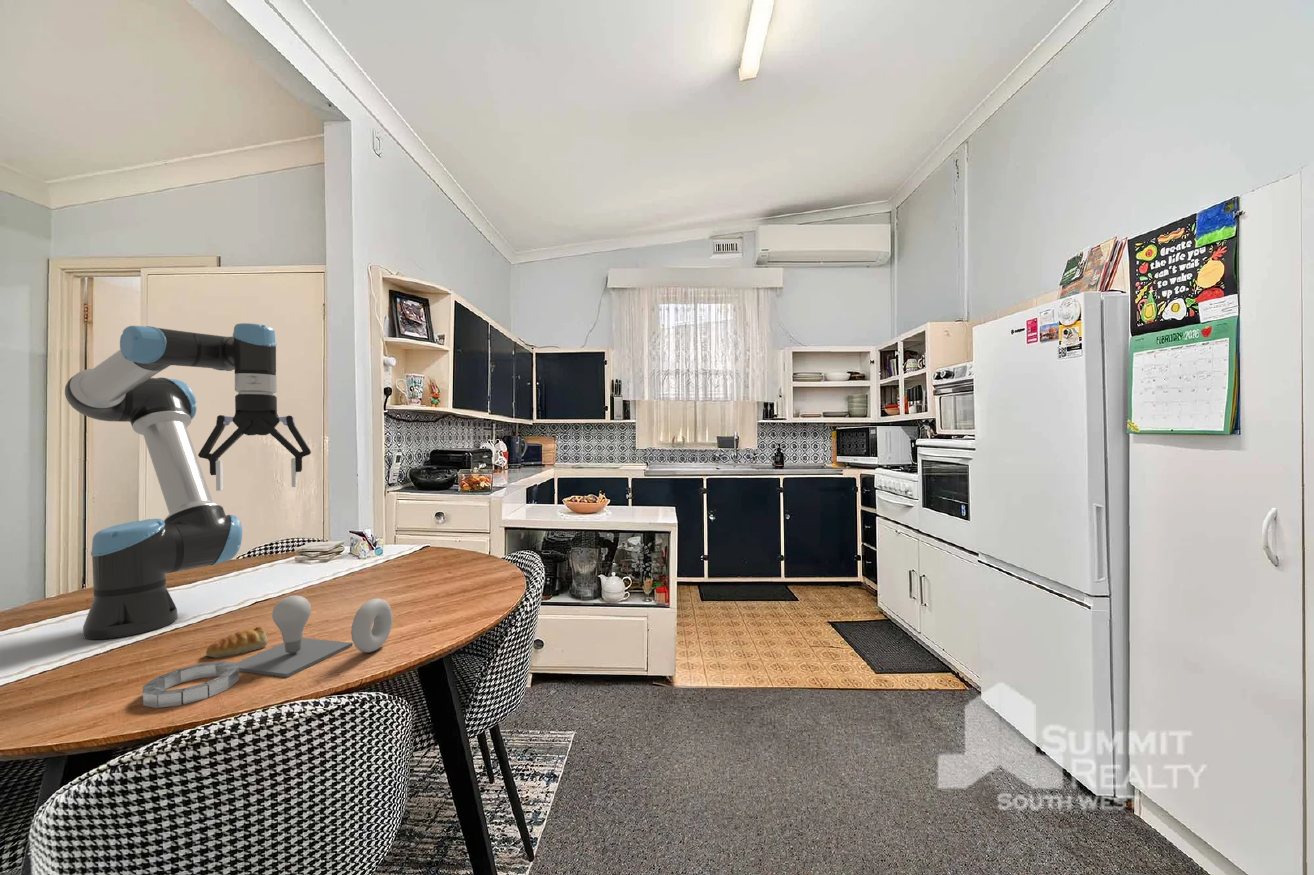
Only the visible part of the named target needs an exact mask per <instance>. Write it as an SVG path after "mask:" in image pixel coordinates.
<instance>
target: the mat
mask: <svg viewBox="0 0 1314 875" xmlns="http://www.w3.org/2000/svg"><path fill="white" fill-rule="evenodd" d="M352 645H353V646H354V643H353V642H347V641H339V640H337V641H336V640H331V639H330V640H329V639H319V638H308V637H302V639H301V649H300V650H299V651H297V653H295V654H290V653H287V652H285V643H284V642H283V643H280V644H277V645H275V646H273V647H270V648H268V649H266V650H263V651H261V652H258V653H256V654H253V655H251V656H248V657H246V658H244V659H242V660H239V661H237V662H235V663H236V664H237V666H238V668H239V672H241V673H242V672H243V673H249V672H250V673H251V674H258V675H266V676H267V675H268V676H274V675H275V677H281V678H289V677H291V676H293V675H295V674H297V673H299V672H302V671H303V669H304V670H306V669H307V667H308V668H310V667H312V666H314V665H316V664H318V663H320V662H323V661H324V660H326V659H329V658H330V657H332V656H335V655H336V653H337V654H339V653H341V652H343V651H345V650H346V649H349V648H351V647H353V646H352ZM350 646H351V647H350ZM344 649H345V650H344ZM342 650H343V651H342ZM334 654H335V655H334ZM309 666H310V667H309ZM305 668H306V669H305ZM301 670H302V671H301Z"/></svg>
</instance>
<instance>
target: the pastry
mask: <svg viewBox="0 0 1314 875" xmlns="http://www.w3.org/2000/svg"><path fill="white" fill-rule="evenodd" d="M267 644H268V637H267V635H266V632H265V629H264V627H263V626H256V627H255V628H251V629H244V630H239V631H236V632H235V633H234V634H230V635H228V636H226V637H224V638H221V639H219V640H218V641H216V642H213V643H212V644H210V645H209V646H208V647H207V648H206V652H205V655H206V656H207V657H211V658H213V659H214V658H216V659H218V658H222V657H223V658H224V657H231V656H237V654H238V655H240V654H239V653H241V654H245V653H249V652H248V651H250V652H253V651H252V650H254V651H256V650H255V649H258V650H260V649H264V648H266V647H267ZM265 646H266V647H265Z"/></svg>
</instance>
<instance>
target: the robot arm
mask: <svg viewBox="0 0 1314 875" xmlns="http://www.w3.org/2000/svg"><path fill="white" fill-rule="evenodd" d="M119 338H120V339H119V350H117V351H116V352H114V353H113V354H112V355H111V356H108V357H107V358H106V359H105V360H103V361H102V362H100V363H98V364H97V365H96V366H95V367H94V368H88V369H87V368H86V369H83V370H81V371H79V372H77V373H76V374H74V375H73V376H72V377H71V378H69V379H68V381H67V382H66V385H65V387H64V395H65V398H66V401H67V402H68V404H69V406H71V407H72V408H73V409H74V410H75V411H77V412H78V413H80V414H82V415H83V416H86V417H88V418H89V419H90V418H91V419H93V420H98V421H104V422H126V423H127V422H129V423H130V424H131V427H132V430H133V431H134V432H135V433H136V434H139V435H142V436H143V439H144V442H145V444H146V446H147V451H148V454H149V456H150V459H151V463H152V465H153V469H154V471H155V475H156V477H157V481H158V483H159V486H160V489H161V490H160V491H161V492H162V496H163V499H164V503H165V505H166V507H167V508H166V509H167V510H168V515H167V516H166V517H165V518H164V519H162V518H149V519H148V518H147V519H142V520H135V521H129V522H125V523H120V524H116V525H112V526H109V527H105V528H102V529H100V530H99V531H97V532H96V533H94V535H93V537H92V543H91V552H90V556H91V559H92V579H93V580H92V584H93V599H92V603H91V604H90V609H89V611H88V614H87V616H86V619H85V621H84V623H83V625H82V626H83V628H82V631H83V632H82V633H83V634H82V636H84V637H85V638H84V637H83V638H84V639H86V638H87V639H86V640H107V638H109V639H116V637H117V638H122V636H124V637H129V636H134V635H139V634H143V633H147V632H149V631H150V632H151V631H155V630H156V629H160V628H164V627H165V626H168V625H170V623H171V624H173V623H174V622H176V621H177V620H178V608H177V607H176V604H175V603H174V600H173V598H172V597H171V594H170V592H169V590H168V589H167V579H166V578H167V575H168V574H171V573H176V572H182V571H187V570H192V569H197V568H202V567H208V566H211V567H212V566H215V565H217V564H220V563H221V564H222V563H225V562H228V561H230V560H232V559H234V558H235V557H236V555H237V554H238V553H239V551H240V548H241V545H242V542H243V528H242V527H243V526H242V523H241V521H240V519H239V517H237V516H236V515H234V514H226V513H225V510H224V507H223V506H222V505H221V504H218V503H215V502H214V501H213V499H212V496H211V493H210V490H209V488H208V485H207V481H206V478H205V476H204V473H203V470H202V467H201V465H200V461H199V459H198V457H199V458H200V459H201V458H202V459H206V460H208V461H209V462H208V463H209V474H210V475H211V476H215V488H216V492H218V491H222V490H223V491H224V490H225V489H224V459H219V458H221V456H222V455H223V454H224V453H226V451H228V450H229V449H230V448H231V446H233V445H234V444H235V443H236V442H237V441H238V440H239V439H240V438H241V437H242V436H244V435H246V436H256V435H258V436H267V435H271V436H272V437H273V438H274V439H275V440H277V442H278V443H280V444H281V446H283V447H284V448H285V449H286V450H287V451H288V452H289V453H291V455H292V456H294V457H292V458H291V459H290V463H291V464H290V468H291V470H290V471H291V474H290V475H291V476H290V477H291V478H290V479H291V488H296V487H298V477H297V475H298V473H300V472H302V471H303V458H304V457H307V456H310V455H311V454H312V450H311V449H310V447H309V446H308V444H307V443H306V441H305V439H304V438H303V436H302V434H301V433H300V431H299V429H298V428H297V426H296V425H295V418H294V416H293V415H286V416H279V415H278V398H277V396H276V395H274V394H276V393H277V343H276V332H275V330H274V328H273V327H271V326H269V325H265V324H258V323H250V322H249V323H245V322H242V323H236V324H235V325H234V326H233V332H232V336H223V335H218V334H217V335H215V334H208V333H200V332H199V333H198V332H193V331H192V332H191V331H184V330H177V329H175V330H174V329H168V328H161V327H156V326H150V325H146V326H145V325H142V326H141V325H129V326H127V327H125V328H124V329H123V330H122V333H121V335H120V337H119ZM170 366H178V367H191V368H202V369H205V368H206V369H212V370H216V371H225V372H231V371H234V392H236V393H237V394H235V396H234V399H235V400H234V407H235V408H234V409H235V413H234V416H225V415H222V414H220V415H218V416H216V421H215V422H216V423H215V426H214V428H213V429H212V431H211V433H210V435H209V436H208V438H207V439H206V441H205V443H204V444H203V446H202V447H201V449H200V451H199V452H198V457H197V454H196V451H195V448H194V445H193V441H192V439H191V437H190V436H191V435H190V434H189V431H188V428H187V427H188V426H190V425H191V422H192V420H193V419H194V418H195V416H196V413H197V408H198V407H197V405H196V403H197V399H196V396H195V394H194V391H193V390H192V388H191V387H190V386H189V385H188V384H187V383H186V382H184V381H183V380H180V379H173V378H167V377H154V376H155V375H157V374H159V373H160V372H163V371H164V370H165V369H167V368H168V367H170ZM232 422H233V424H234V425H236V427H237V429H236V430H234V432H232V434H231V435H230V436H229V437H227V439H226V440H225V441H223V443H222V444H221V445H219V447H217V449H215V450H214V451H213V452H212V453H211V451H212V450H213V448H214V446H215V444H216V443H217V441H218V440H219V439H220V437H221V435H222V433H223V431H224V430H225V428H226V427H227V426H229V425H230V423H232ZM280 422H281V423H282V424H283V425H284V426H287V428H288V429H289V431H290V433H291V434H292V436H293V439H295V441H296V443H297V444H298V445H299V448H300V449H301V450H302V451H299V450H298V449H297V448H296V446H294V445H293V444H292V443H291V442H290V441H289V440H288V439H287V438H285V436H283V435H282V434H281V432H280V431H278V429H276V427H277V426H278V424H280ZM176 619H177V620H176ZM175 620H176V621H175Z"/></svg>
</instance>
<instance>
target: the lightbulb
mask: <svg viewBox="0 0 1314 875" xmlns="http://www.w3.org/2000/svg"><path fill="white" fill-rule="evenodd" d="M311 613H312V605H311V604H310V601H309V600H308V599H307V598H305V597H304V596H300V595H290V596H286V597H284V598H282V599H280V600H279V601H278V602H277V603H276V604H275V606H274V607H273V610H272V615H271V616H272V621H273V622H274V624H275V626H276V627H277V628H278V629H279V631H280V633H281V636H282V641H283V643H285V652H287V653H290V654H295V653H297V651H299V650H300V649H301V639H302V638H304V637H303V636H304V629H305V627H306V624H307V622H308V620H309V618H310V616H311Z"/></svg>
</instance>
